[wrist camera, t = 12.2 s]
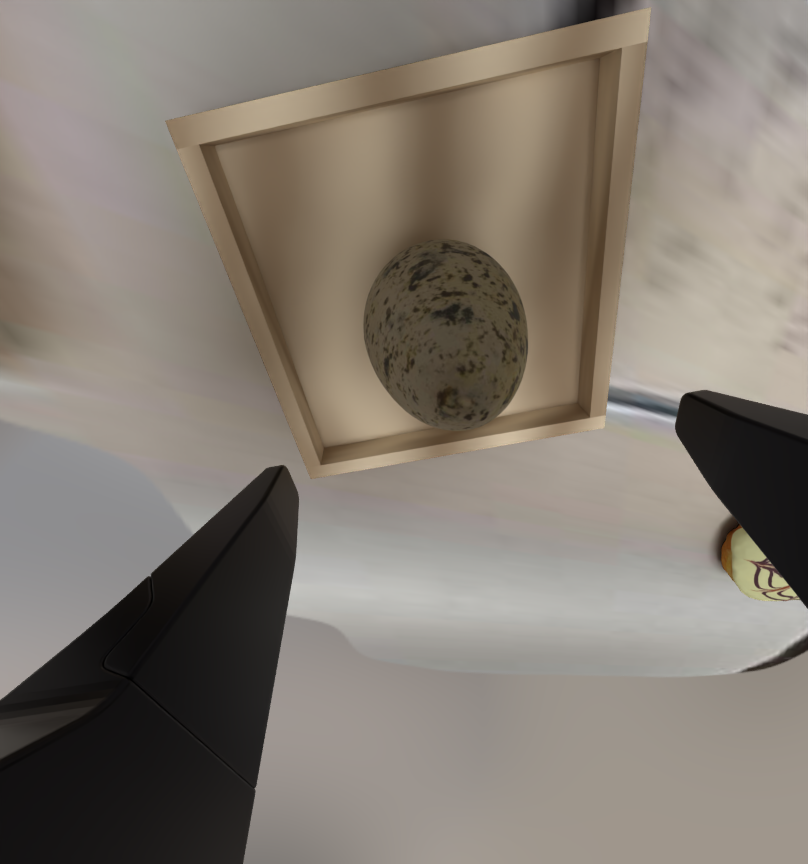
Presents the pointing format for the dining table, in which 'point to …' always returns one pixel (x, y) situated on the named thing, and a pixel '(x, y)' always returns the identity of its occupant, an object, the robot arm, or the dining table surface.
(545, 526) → the dining table surface
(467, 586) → the dining table surface
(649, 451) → the dining table surface
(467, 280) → the decorative egg
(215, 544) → the robot arm
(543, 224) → the wooden tray
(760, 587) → the decorated donut
